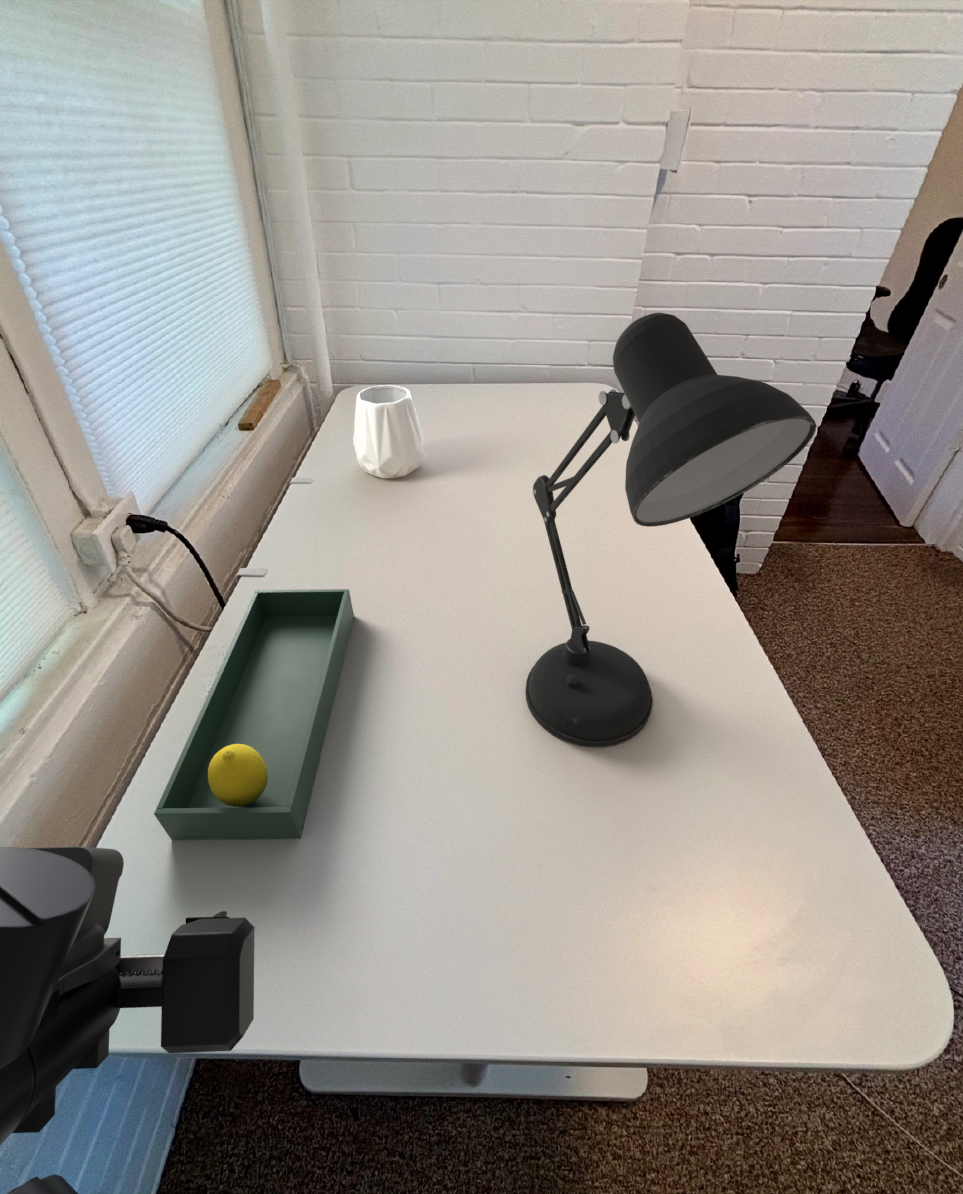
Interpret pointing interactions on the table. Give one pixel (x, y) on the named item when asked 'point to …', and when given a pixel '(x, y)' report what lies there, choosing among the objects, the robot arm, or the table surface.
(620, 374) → the desk lamp
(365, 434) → the vase
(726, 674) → the table surface
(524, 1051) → the table surface
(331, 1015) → the table surface
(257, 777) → the lemon
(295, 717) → the green rectangular tray
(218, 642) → the table surface
